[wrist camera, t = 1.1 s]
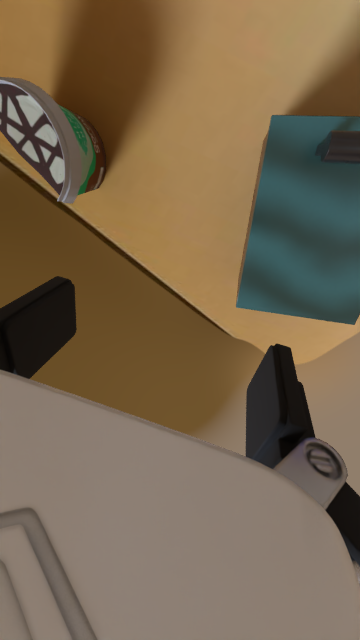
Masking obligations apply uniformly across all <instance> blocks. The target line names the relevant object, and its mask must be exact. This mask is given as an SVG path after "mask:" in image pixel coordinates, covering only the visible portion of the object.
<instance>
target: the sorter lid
mask: <svg viewBox="0 0 360 640" xmlns="http://www.w3.org/2000/svg"><path fill="white" fill-rule="evenodd" d="M236 307H237V308H244V309H251V310H257V311H264V312H271V313H278V314H284V315H291V316H298V317H305V318H311V319H318V320H325V321H332V322H338V323H345V324H352V325H355V323H356V321H357V319H358V317H359V315H360V117H358V116H294V115H272V117H271V121H270V126H269V131H268V137H267V142H266V147H265V153H264V158H263V164H262V169H261V174H260V180H259V185H258V190H257V196H256V201H255V206H254V212H253V217H252V222H251V228H250V233H249V239H248V244H247V249H246V255H245V260H244V265H243V271H242V276H241V281H240V287H239V292H238V297H237V303H236Z"/></svg>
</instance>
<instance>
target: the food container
mask: <svg viewBox="0 0 360 640" xmlns="http://www.w3.org/2000/svg"><path fill="white" fill-rule="evenodd" d="M0 131H1V132H2V133H3V134H4V136H5V137H6V138H7V139H8V141H9V142H10V143H11V145H12V146H13V147H14V148H15V149H16V151H17V152H18V153H19V154H20V155H21V156H22V157H23V158H24V159H25V160H26V161H27V162H28V163H29V164H30V165H31V166H32V167H33V168H34V169H35V170H36V171H37V172H39V173H40V174H41V175H42V177H43V178H44V179H45V180H46V181H47V182H48V183H49V184H50V185H51V186H52V187H53V188H54V190H55V191H56V192H57V193H58V194H59V195H60V196H59V198H58V200H57V201H62V202H63V203H73V202H74V200H75V199H76V197H77V195H80V194H83V193H86V192H89V191H92V190H95V189H97V188H99V186H100V185H101V183H102V181H103V178H104V174H105V170H106V155H105V151H104V147H103V143H102V141H101V139H100V137H99V135H98V133H97V131H96V130H95V128H94V127H93V126H92V125H91V124H90V122H89V121H87V120H86V119H85V118H83V117H82V116H80V115H78V114H76V113H74V112H72V111H70V110H68V109H66V108H64V107H62V106H60V105H58V104H57V103H56V102H55V101H54V100H53V99H52V98H51V97H50V96H49V95H48V94H47V93H46V92H45V91H43V90H42V89H41V88H40V87H38V86H36V85H35V84H33V83H31V82H29V81H26V80H23V79H19V78H8V77H0Z"/></svg>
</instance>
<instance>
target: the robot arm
mask: <svg viewBox="0 0 360 640" xmlns="http://www.w3.org/2000/svg"><path fill="white" fill-rule="evenodd" d="M75 311H76V310H75V287H74V285H73V284H72V282H71V280H69V279H66V278H63V277H59V276H57V277H55V278H53V279H51V280H49V281H48V282H46V283H44V284H42V285H41V286H39V287H37V288H35V289H34V290H32V291H30V292H28V293H27V294H25V295H23V296H21V297H20V298H18V299H16V300H14V301H13V302H11V303H9V304H8V305H6V306H4V307H2V308H0V640H360V496H359V495H358V494H356V492H355V491H354V490H353V489H352V488H351V487H350V486H349V485H348V484H347V483H346V479H347V476H348V474H347V468H346V465H345V463H344V461H343V459H342V458H341V456H340V455H339V453H338V452H337V451H336V450H335V449H334V448H333V447H331V446H330V445H329V444H328V443H326V442H324V441H322V440H320V439H317V438H315V434H314V430H313V426H312V421H311V417H310V413H309V409H308V405H307V400H306V396H305V392H304V388H303V385H302V383H301V382H298V379H297V375H296V370H295V366H294V361H293V357H292V352H291V348H290V347H287V346H283V345H280V344H276V345H275V346H272V345H271V346H270V347H269V349H268V350H267V352H266V354H265V356H264V358H263V360H262V362H261V364H260V365H259V367H258V369H257V371H256V373H255V375H254V377H253V378H252V380H251V382H250V384H249V386H248V389H247V405H246V406H247V407H246V409H247V410H246V457H245V456H243V455H240V454H238V453H235V452H233V451H230V450H227V449H225V448H222V447H219V446H216V445H214V444H211V443H209V442H206V441H203V440H201V439H198V438H195V437H192V436H190V435H186V434H184V433H181V432H178V431H176V430H173V429H170V428H167V427H164V426H162V425H159V424H156V423H153V422H150V421H147V420H145V419H142V418H139V417H136V416H133V415H131V414H128V413H125V412H122V411H119V410H116V409H113V408H111V407H108V406H105V405H102V404H99V403H96V402H94V401H90V400H88V399H85V398H82V397H79V396H76V395H74V394H71V393H68V392H65V391H62V390H59V389H56V388H53V387H50V386H47V385H45V384H41V383H39V382H36V381H33V380H30V378H31V377H32V376H33V375H34V374H35V373H36V372H37V371H38V370H39V369H40V368H41V367H42V366H43V365H44V364H45V363H46V362H47V361H48V360H49V359H50V358H51V357H52V356H53V355H54V354H56V353H57V352H58V351H59V350H60V349H61V348H62V347H63V346H64V345H65V344H66V343H67V342H68V341H69V340H70V339H71V338H72V337H73V336H74V335H75V333H76V312H75Z"/></svg>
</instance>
